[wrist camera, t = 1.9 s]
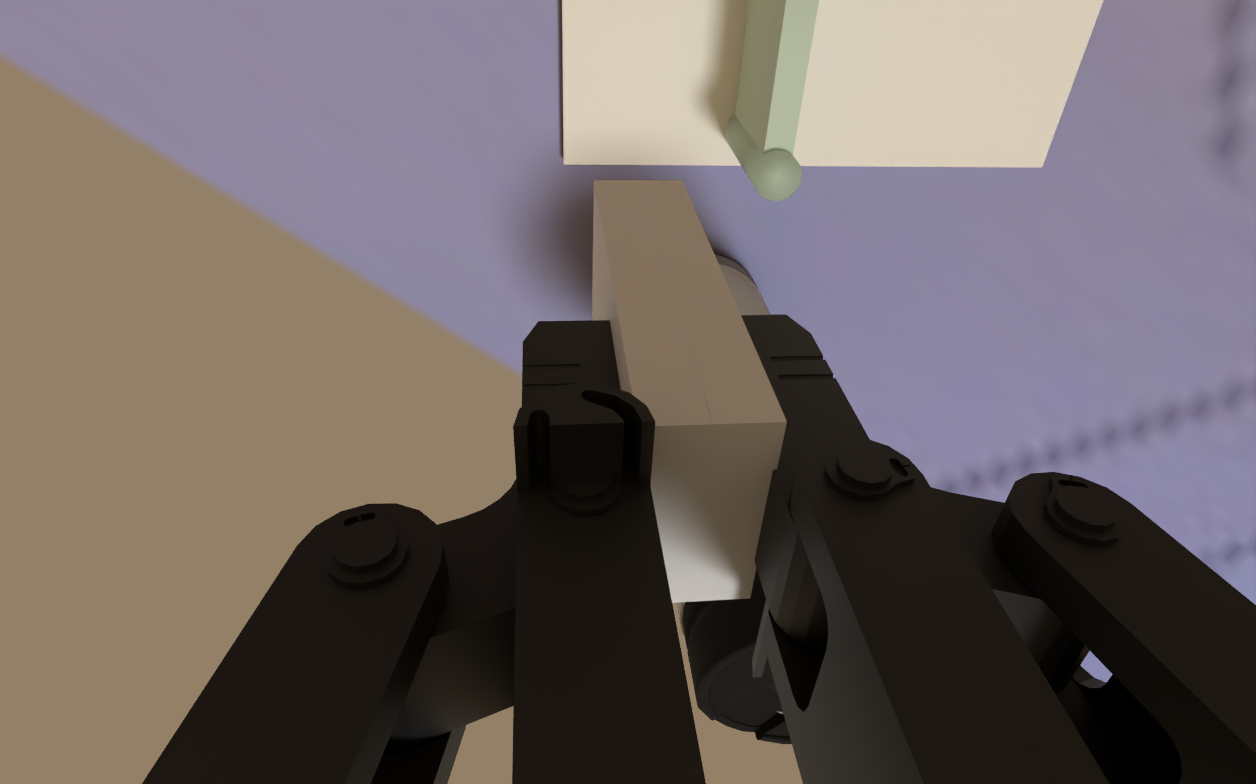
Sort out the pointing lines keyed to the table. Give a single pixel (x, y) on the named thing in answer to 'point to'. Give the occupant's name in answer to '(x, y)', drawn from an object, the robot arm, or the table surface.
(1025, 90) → the card
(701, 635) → the travel mug
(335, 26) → the table surface
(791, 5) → the hinged rail
